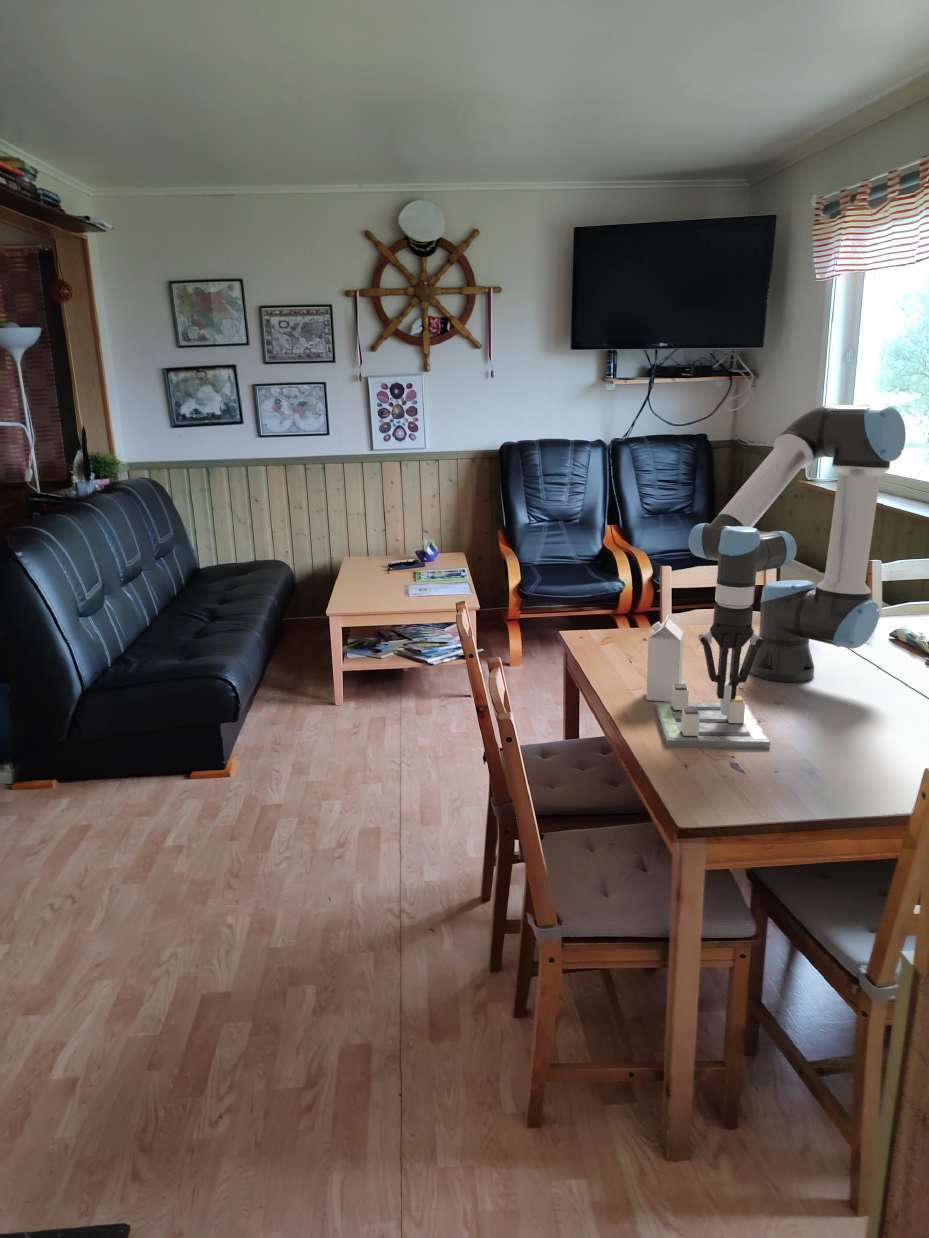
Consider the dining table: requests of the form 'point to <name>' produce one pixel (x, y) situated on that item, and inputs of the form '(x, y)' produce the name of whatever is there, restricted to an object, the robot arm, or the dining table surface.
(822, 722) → the dining table surface
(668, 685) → the milk carton
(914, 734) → the dining table surface
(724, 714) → the robot arm
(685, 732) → the block
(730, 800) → the dining table surface
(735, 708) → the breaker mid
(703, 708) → the panel
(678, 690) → the block
